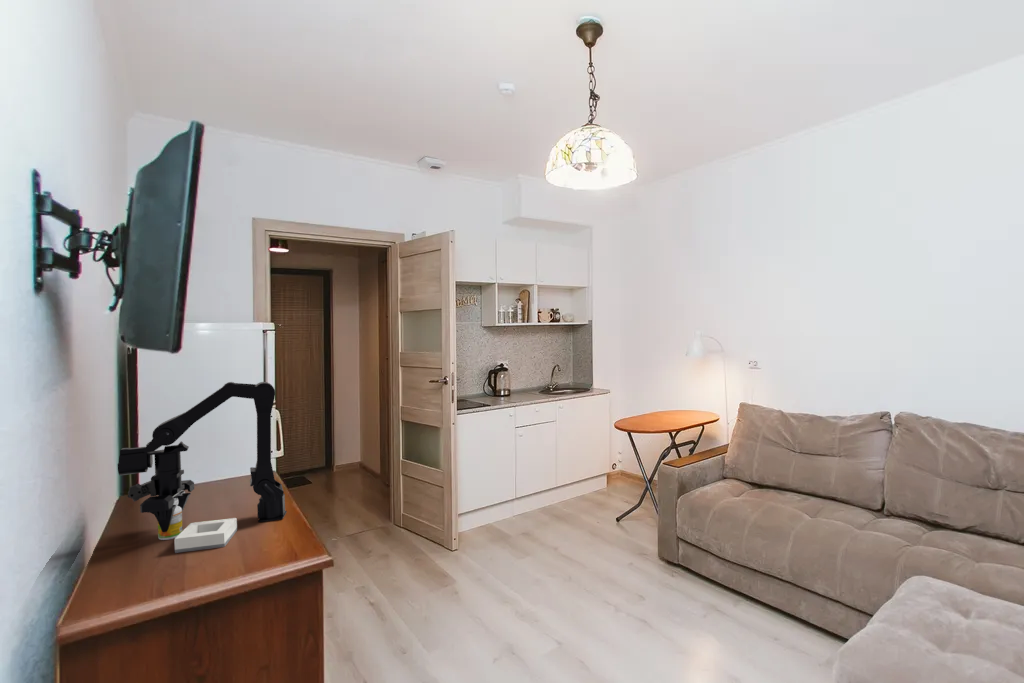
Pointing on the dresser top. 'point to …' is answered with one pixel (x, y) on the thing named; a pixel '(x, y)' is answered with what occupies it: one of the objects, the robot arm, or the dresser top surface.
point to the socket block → (206, 535)
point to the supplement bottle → (172, 524)
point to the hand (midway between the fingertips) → (170, 527)
